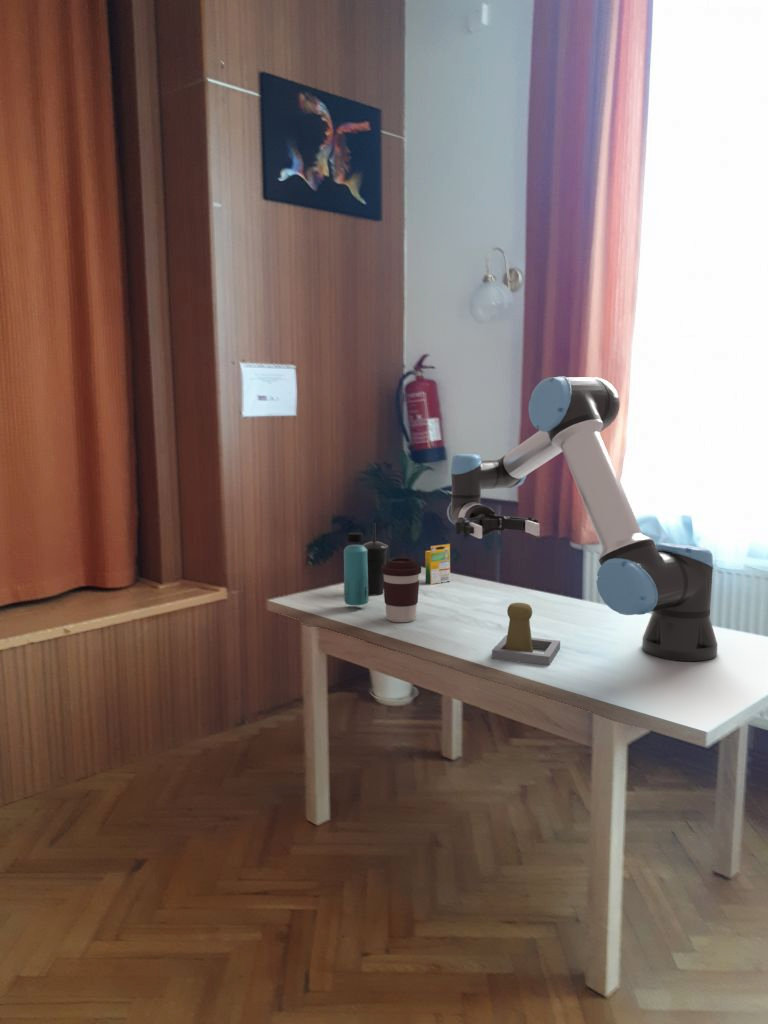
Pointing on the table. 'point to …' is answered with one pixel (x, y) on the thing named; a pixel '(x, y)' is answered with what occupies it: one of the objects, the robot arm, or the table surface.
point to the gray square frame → (528, 657)
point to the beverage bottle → (355, 571)
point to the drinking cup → (375, 564)
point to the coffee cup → (401, 588)
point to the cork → (519, 628)
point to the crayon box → (438, 564)
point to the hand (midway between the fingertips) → (509, 531)
